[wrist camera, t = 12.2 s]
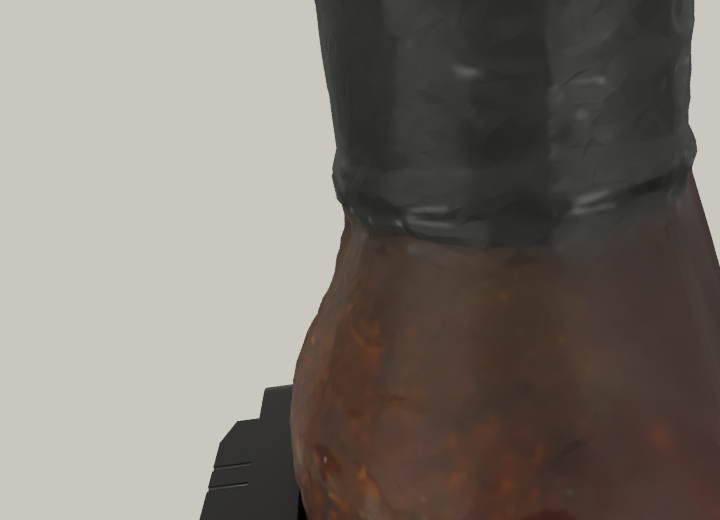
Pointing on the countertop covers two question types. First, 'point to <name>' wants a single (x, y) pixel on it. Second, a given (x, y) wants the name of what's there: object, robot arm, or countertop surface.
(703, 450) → the sauce bottle
